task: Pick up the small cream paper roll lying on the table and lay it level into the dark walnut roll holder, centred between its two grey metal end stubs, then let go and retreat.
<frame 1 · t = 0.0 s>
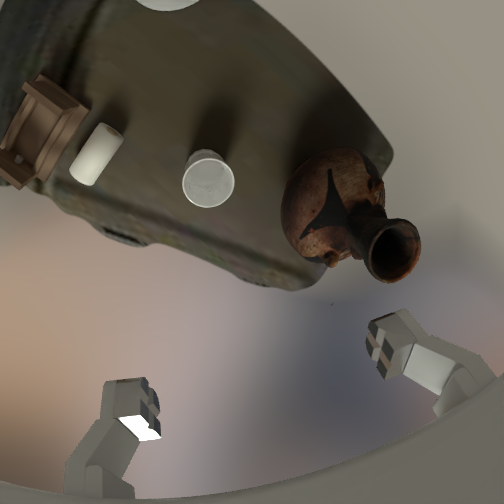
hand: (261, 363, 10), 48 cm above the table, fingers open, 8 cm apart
ceramic vessel: (311, 186, 60), on the table
roll holder: (43, 127, 42), on the table
white cup: (204, 166, 54), on the table
paper roll: (99, 150, 48), on the table
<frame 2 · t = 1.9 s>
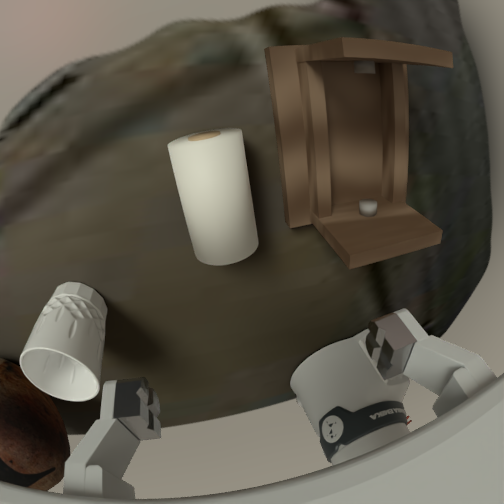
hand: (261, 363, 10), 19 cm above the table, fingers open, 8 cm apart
ceramic vessel: (21, 375, 34), on the table
roll holder: (344, 130, 25), on the table
white cup: (80, 304, 30), on the table
paper roll: (212, 184, 26), on the table
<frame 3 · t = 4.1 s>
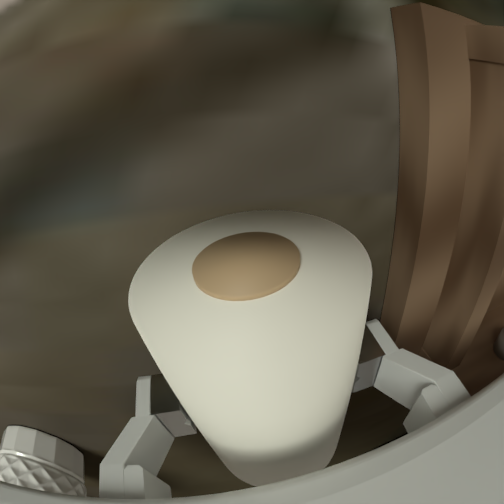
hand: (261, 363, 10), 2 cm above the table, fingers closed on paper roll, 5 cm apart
roll holder: (491, 203, 11), on the table
white cup: (44, 443, 15), on the table
paper roll: (249, 325, 12), on the table, touching gripper
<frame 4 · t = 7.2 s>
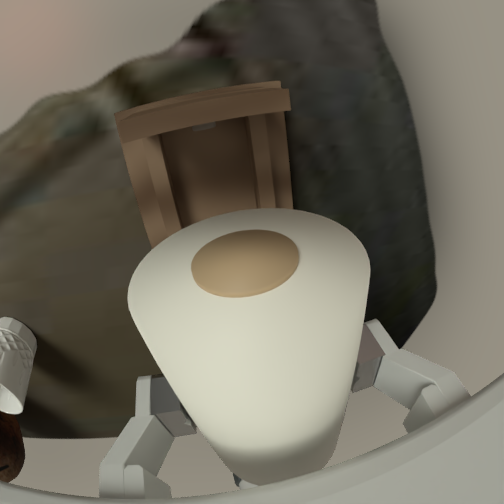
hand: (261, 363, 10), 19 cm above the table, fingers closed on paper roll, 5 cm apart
roll holder: (212, 182, 26), on the table
white cup: (16, 334, 30), on the table
paper roll: (249, 324, 12), point 17 cm above the table, touching gripper
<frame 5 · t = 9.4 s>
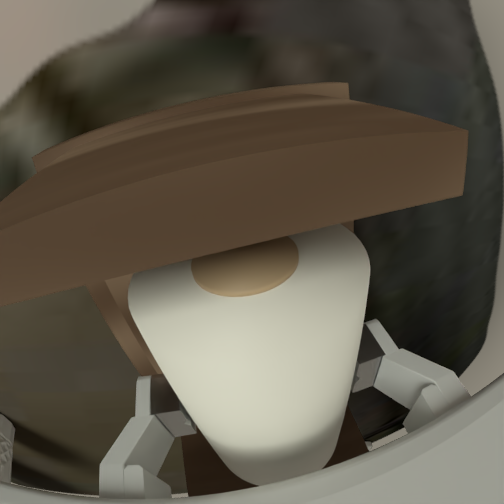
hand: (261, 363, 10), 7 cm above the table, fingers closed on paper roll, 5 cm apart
roll holder: (221, 263, 16), on the table
paper roll: (249, 323, 12), point 5 cm above the table, touching gripper
when the fingers open (5 cm above the table, at t = 10.8 s): paper roll drops 1 cm, resting on roll holder.
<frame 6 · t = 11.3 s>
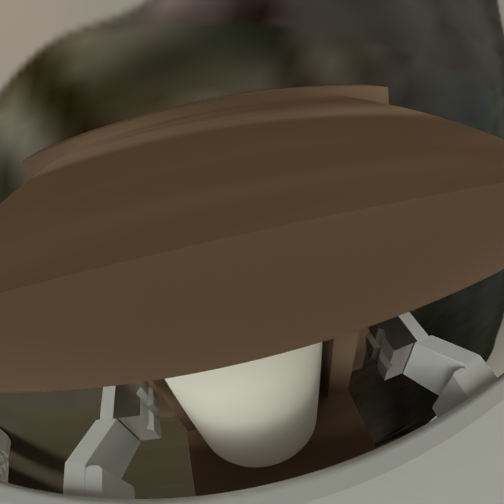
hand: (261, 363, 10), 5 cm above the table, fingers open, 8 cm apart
roll holder: (237, 282, 14), on the table
paper roll: (244, 305, 13), point 2 cm above the table, tilted 13°, touching roll holder
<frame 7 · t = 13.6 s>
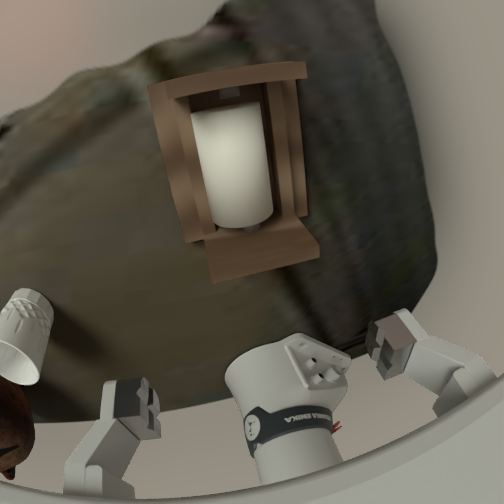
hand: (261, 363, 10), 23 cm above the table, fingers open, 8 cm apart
roll holder: (232, 150, 28), on the table
white cup: (33, 306, 32), on the table
paper roll: (235, 153, 27), point 2 cm above the table, tilted 13°, touching roll holder
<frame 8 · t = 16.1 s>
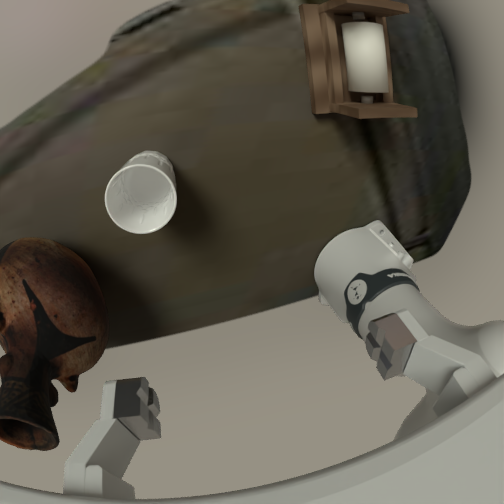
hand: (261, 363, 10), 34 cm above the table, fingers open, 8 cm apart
ceramic vessel: (65, 268, 43), on the table
roll holder: (348, 58, 35), on the table
white cup: (149, 173, 39), on the table
paper roll: (353, 57, 34), point 2 cm above the table, tilted 6°, touching roll holder
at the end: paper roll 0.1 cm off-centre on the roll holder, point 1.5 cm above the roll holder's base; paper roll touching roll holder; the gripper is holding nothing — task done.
